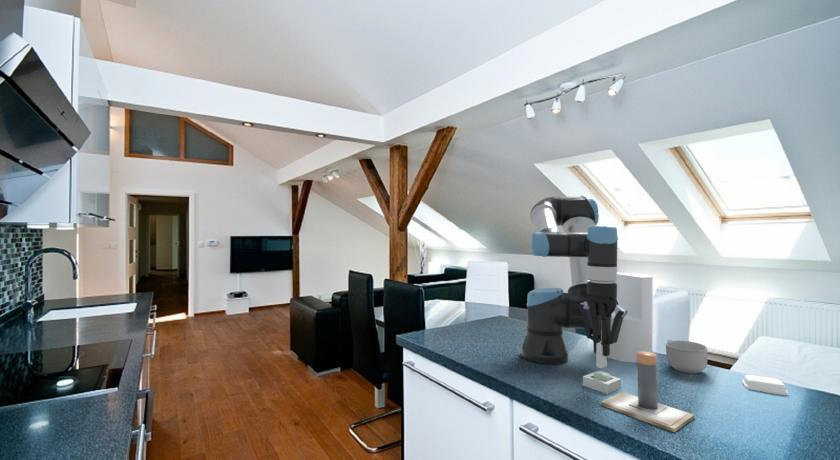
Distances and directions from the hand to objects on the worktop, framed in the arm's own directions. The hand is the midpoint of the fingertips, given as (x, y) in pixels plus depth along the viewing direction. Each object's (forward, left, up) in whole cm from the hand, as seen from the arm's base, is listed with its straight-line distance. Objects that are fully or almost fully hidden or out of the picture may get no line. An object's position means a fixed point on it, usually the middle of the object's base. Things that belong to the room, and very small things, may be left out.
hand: (601, 366), depth 106 cm
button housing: (0, 0, -5) cm, 5 cm away
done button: (0, 0, -5) cm, 5 cm away
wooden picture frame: (+14, -6, -5) cm, 16 cm away
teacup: (+7, +36, -6) cm, 37 cm away
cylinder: (-11, +35, -6) cm, 37 cm away
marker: (+14, -5, -4) cm, 16 cm away
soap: (+27, +36, -6) cm, 45 cm away
